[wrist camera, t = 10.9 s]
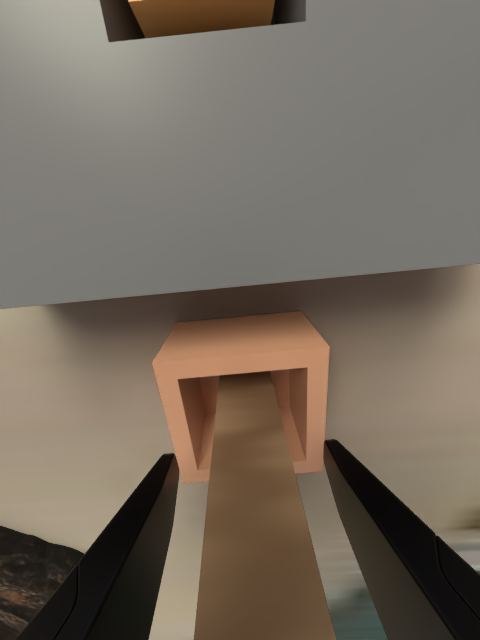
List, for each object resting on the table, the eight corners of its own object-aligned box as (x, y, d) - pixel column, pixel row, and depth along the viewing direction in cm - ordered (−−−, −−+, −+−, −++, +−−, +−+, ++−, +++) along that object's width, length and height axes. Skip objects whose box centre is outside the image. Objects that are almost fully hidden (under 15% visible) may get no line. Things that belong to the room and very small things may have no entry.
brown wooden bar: (265, 354, 13) (346, 683, 4) (266, 391, 14) (333, 731, 5) (221, 357, 13) (188, 693, 4) (224, 393, 14) (206, 739, 5)
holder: (301, 310, 13) (329, 346, 9) (301, 410, 15) (323, 471, 11) (176, 322, 13) (151, 363, 9) (195, 419, 15) (183, 483, 11)
